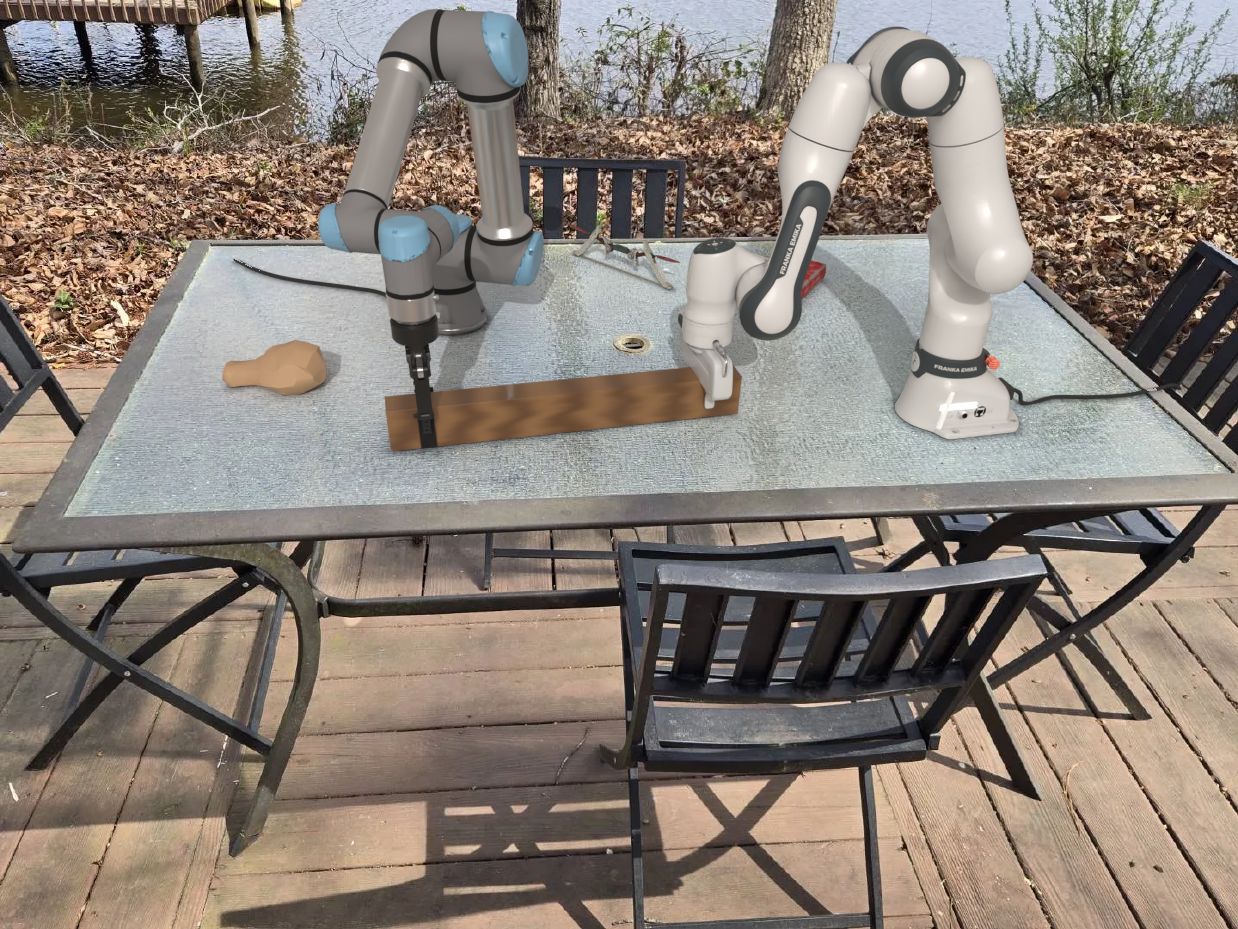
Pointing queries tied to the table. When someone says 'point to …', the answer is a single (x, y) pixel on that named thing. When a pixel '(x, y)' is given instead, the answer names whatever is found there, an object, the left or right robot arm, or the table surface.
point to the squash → (280, 369)
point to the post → (556, 407)
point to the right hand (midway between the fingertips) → (702, 397)
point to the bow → (631, 253)
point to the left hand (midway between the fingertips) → (427, 436)
